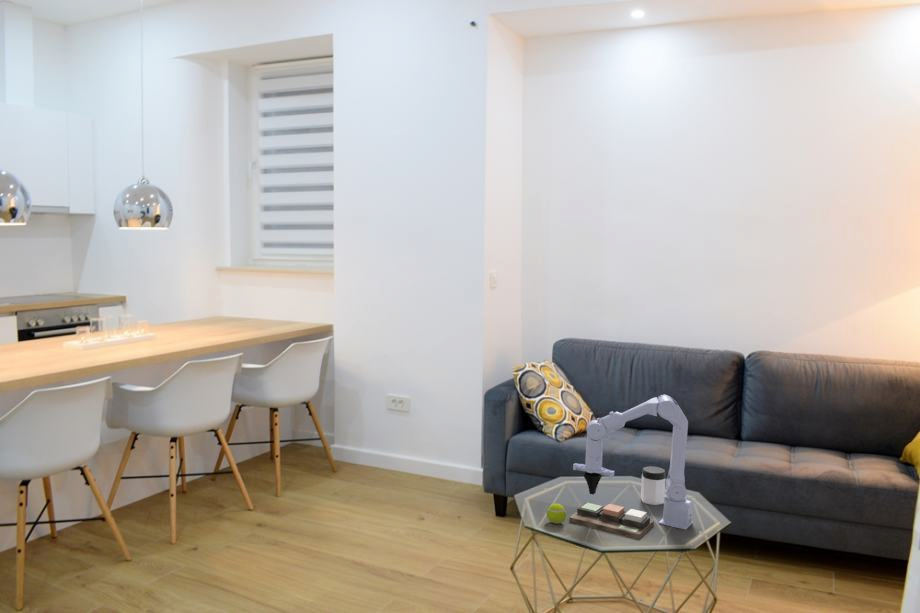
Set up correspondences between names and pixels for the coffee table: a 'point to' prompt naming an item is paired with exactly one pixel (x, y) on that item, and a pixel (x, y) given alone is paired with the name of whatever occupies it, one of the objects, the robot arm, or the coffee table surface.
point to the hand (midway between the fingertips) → (592, 493)
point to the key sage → (591, 507)
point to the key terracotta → (613, 510)
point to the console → (611, 522)
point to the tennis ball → (556, 513)
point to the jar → (653, 485)
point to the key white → (636, 515)
